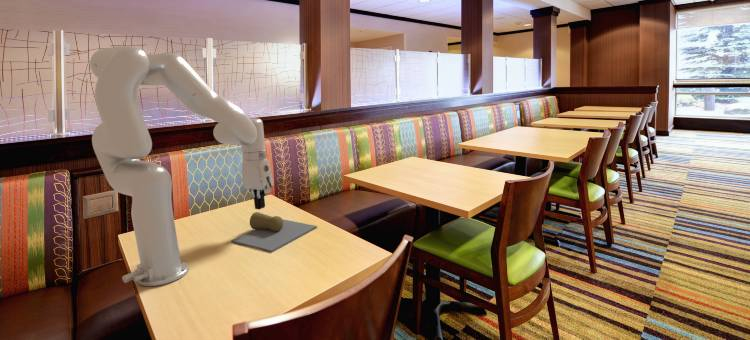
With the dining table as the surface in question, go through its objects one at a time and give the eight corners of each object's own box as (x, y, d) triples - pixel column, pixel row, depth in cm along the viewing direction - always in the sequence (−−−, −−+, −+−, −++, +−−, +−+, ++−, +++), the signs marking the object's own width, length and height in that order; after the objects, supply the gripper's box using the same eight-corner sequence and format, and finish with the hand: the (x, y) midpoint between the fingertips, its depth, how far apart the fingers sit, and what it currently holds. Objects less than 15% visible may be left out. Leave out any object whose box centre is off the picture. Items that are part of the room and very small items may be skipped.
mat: (271, 252, 121) (271, 250, 121) (231, 241, 130) (231, 240, 130) (317, 227, 139) (317, 226, 139) (278, 219, 148) (278, 218, 148)
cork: (249, 230, 137) (274, 235, 132) (249, 213, 137) (274, 217, 132) (262, 227, 143) (286, 231, 138) (262, 210, 142) (286, 214, 137)
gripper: (279, 155, 132) (284, 207, 136) (247, 152, 140) (252, 202, 144) (262, 159, 126) (268, 214, 130) (230, 156, 133) (236, 208, 138)
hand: (260, 208), depth 137 cm, fingers closed
